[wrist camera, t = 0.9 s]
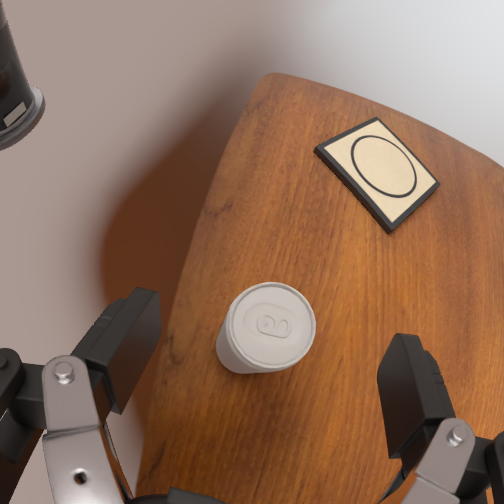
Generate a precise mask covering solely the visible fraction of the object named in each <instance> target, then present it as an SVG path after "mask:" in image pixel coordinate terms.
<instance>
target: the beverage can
mask: <svg viewBox="0 0 504 504" xmlns="http://www.w3.org/2000/svg"><path fill="white" fill-rule="evenodd" d="M315 329H316V322H315V317H314V312H313V310H312V308H311V306H310V304H309V302H308V301H307V300H306V299H305V298H304V296H303V295H302V294H301V293H299V292H298V291H297V290H295V289H294V288H292V287H290V286H287V285H285V284H282V283H275V282H268V283H260V284H258V285H255V286H253V287H250V288H248V289H246V290H245V291H244V292H242V293H241V294H240V295H238V296H237V298H236V299H235V300H234V302H233V303H232V304H231V306H230V308H229V310H228V313H227V315H226V317H225V320H224V322H223V325H222V327H221V329H220V332H219V334H218V337H217V339H216V352H217V356H218V358H219V360H220V362H221V363H222V364H223V365H224V366H225V367H226V368H227V369H229V370H230V371H232V372H235V373H238V374H248V373H266V372H275V371H280V370H284V369H287V368H289V367H291V366H293V365H295V364H296V363H297V362H298V361H299V360H300V359H302V358H303V357H304V355H305V354H306V353H307V352H308V350H309V349H310V347H311V345H312V343H313V340H314V337H315Z"/></svg>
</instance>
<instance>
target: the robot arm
mask: <svg viewBox="0 0 504 504" xmlns="http://www.w3.org/2000/svg"><path fill="white" fill-rule="evenodd" d="M34 103H35V97H34V94H33V92H32V91H31V89H30V86H29V83H28V81H27V78H26V75H25V73H24V70H23V67H22V64H21V61H20V59H19V56H18V53H17V50H16V47H15V44H14V41H13V38H12V35H11V31H10V28H9V25H8V21H7V19H6V15H5V11H4V7H3V4H2V0H0V136H2V135H4V134H6V133H8V132H10V131H11V130H13V129H14V128H16V127H17V126H18V125H19V124H20V123H21V122H22V121H23V120H24V119H25V118H26V117H27V116H28V115H29V113H30V112H31V110H32V108H33V106H34ZM160 335H161V312H160V295H159V292H157V291H153V290H148V289H144V288H139V287H136V288H135V289H134V290H133V292H132V293H131V295H130V296H129V297H128V298H127V300H126V299H122V298H120V299H118V300H116V301H115V302H113V303H111V304H110V305H108V307H107V308H106V309H105V310H104V311H103V313H102V314H101V315H100V317H99V318H98V319H97V320H96V322H95V323H94V325H92V327H91V328H90V329H89V330H88V332H87V333H86V335H85V336H84V337H83V338H82V340H81V341H80V342H79V344H78V345H77V346H76V347H75V349H74V350H73V351H72V353H71V354H70V355H62V356H59V357H55V358H53V359H52V360H50V361H49V362H48V363H47V364H46V365H35V364H27V363H22V361H21V359H20V357H19V355H18V354H17V352H16V351H14V350H12V349H9V348H1V349H0V419H1V417H2V416H3V414H4V412H5V411H6V410H7V411H6V413H5V414H4V416H3V418H2V420H1V421H0V504H9V501H10V499H11V497H12V495H13V493H14V490H15V488H16V486H17V484H18V482H19V479H20V477H21V475H22V473H23V471H24V469H25V466H26V465H27V463H28V461H29V459H30V456H31V455H32V452H33V450H34V448H35V447H36V444H37V443H38V441H39V438H40V437H41V435H42V433H43V431H44V429H47V434H44V435H43V438H42V442H43V449H44V456H45V461H46V467H47V471H48V476H49V481H50V486H51V490H52V494H53V498H54V502H55V504H227V503H225V502H222V501H220V500H218V499H215V498H213V497H210V496H206V495H201V494H197V493H193V492H189V491H185V490H181V489H177V488H173V487H170V490H169V493H168V494H155V495H146V496H140V497H136V498H134V497H133V495H132V492H131V490H130V487H129V485H128V483H127V480H126V478H125V476H124V474H123V472H122V469H121V466H120V463H119V460H118V458H117V454H116V451H115V448H114V445H113V442H112V439H111V436H110V432H109V429H108V426H107V423H106V418H107V416H108V414H109V413H110V411H112V412H115V413H118V414H120V415H121V414H122V412H123V410H124V408H125V406H126V404H127V402H128V400H129V398H130V396H131V395H132V392H133V390H134V389H135V387H136V384H137V382H138V381H139V379H140V377H141V375H142V373H143V371H144V369H145V367H146V365H147V363H148V361H149V359H150V358H151V356H152V354H153V352H154V350H155V348H156V346H157V344H158V342H159V339H160ZM440 373H441V372H440V370H439V367H438V364H437V362H436V360H435V359H434V358H433V357H432V355H431V354H430V353H429V352H428V351H425V350H424V349H423V347H422V344H421V342H420V339H419V337H418V336H417V335H411V334H402V333H397V334H395V335H394V337H393V339H392V341H391V343H390V345H389V347H388V349H387V351H386V353H385V355H384V357H383V359H382V361H381V363H380V365H379V368H378V372H377V384H378V389H379V395H380V401H381V407H382V413H383V419H384V425H385V432H386V439H387V447H388V454H389V459H396V458H401V460H402V465H401V466H400V467H399V468H398V469H397V471H396V472H395V474H394V475H393V477H392V478H391V480H390V481H389V483H388V484H387V485H386V487H385V488H384V490H383V491H382V492H381V494H380V495H379V497H378V498H377V499H376V501H375V502H374V503H373V504H488V503H487V497H486V490H487V489H488V488H490V487H491V488H492V493H493V499H494V504H504V431H503V432H501V433H500V434H498V435H497V436H496V437H495V438H494V439H493V440H489V439H485V438H481V437H477V436H475V434H474V432H473V430H472V428H471V427H470V426H469V424H467V423H466V422H465V421H463V420H461V419H459V418H456V416H455V413H454V410H453V407H452V404H451V401H450V398H449V395H448V392H447V389H446V386H445V385H444V381H443V378H442V375H440Z"/></svg>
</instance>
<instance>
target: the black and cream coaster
mask: <svg viewBox="0 0 504 504" xmlns="http://www.w3.org/2000/svg"><path fill="white" fill-rule="evenodd" d="M314 152H315V153H316V154H317V155H318V157H319V158H320V159H321V160H322V161H323V162H324V163H325V164H326V165H327V166H328V167H329V168H330V169H331V170H332V171H333V172H334V173H335V174H336V175H337V176H338V178H339V179H340V180H341V181H342V182H343V183H344V184H345V185H346V186H347V187H348V188H349V190H350V191H351V192H352V193H353V194H354V195H355V196H356V197H357V199H358V200H359V201H360V202H361V203H362V204H363V205H364V206H365V208H366V209H367V210H368V211H369V212H370V213H371V215H372V216H373V217H374V218H375V219H376V220H377V222H378V223H379V224H380V225H381V226H382V228H383V229H384V230H385V231H386V232H387V234H389V233H390V232H392V231H393V230H394V229H395V228H396V227H397V226H398V225H399V224H400V223H401V222H402V221H403V220H404V219H405V218H407V217H408V216H409V215H410V214H411V213H412V212H413V211H414V210H415V209H416V208H417V207H418V206H419V205H420V204H421V203H422V202H423V201H424V200H425V199H426V198H427V197H428V196H429V195H430V194H431V193H432V192H433V191H434V190H435V189H437V188H438V187H439V186H440V183H439V182H438V181H437V179H436V178H435V177H434V176H433V175H432V174H431V172H430V171H429V170H428V169H427V168H426V167H425V166H424V165H423V163H422V162H421V161H420V160H419V159H418V158H417V157H416V156H415V155H414V154H413V153H412V151H411V150H410V149H409V148H408V147H407V146H406V145H405V144H404V143H403V142H402V141H401V140H400V139H399V138H398V137H397V136H396V135H395V134H394V133H393V132H392V131H391V130H390V129H389V128H388V127H387V126H386V125H385V124H384V123H383V122H382V121H381V120H380V119H379V118H378V117H374V118H372V119H370V120H368V121H366V122H364V123H362V124H360V125H358V126H356V127H354V128H352V129H349V130H347V131H345V132H343V133H341V134H339V135H337V136H335V137H333V138H331V139H329V140H327V141H325V142H323V143H321V144H319V145H317V146H316V147H315V149H314Z"/></svg>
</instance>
